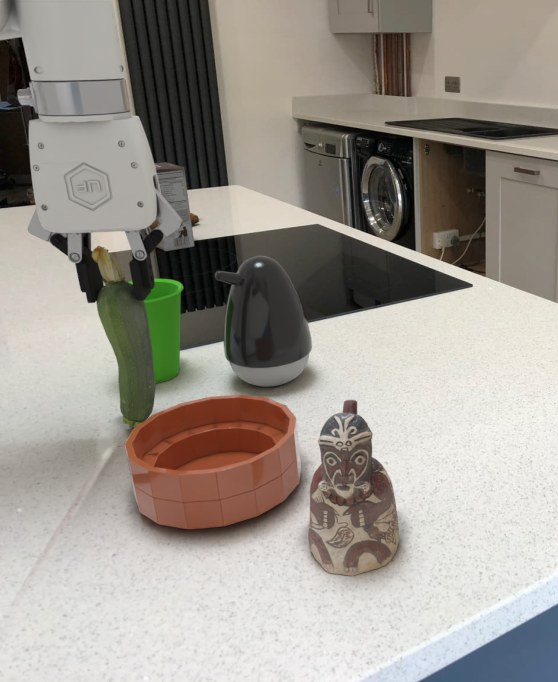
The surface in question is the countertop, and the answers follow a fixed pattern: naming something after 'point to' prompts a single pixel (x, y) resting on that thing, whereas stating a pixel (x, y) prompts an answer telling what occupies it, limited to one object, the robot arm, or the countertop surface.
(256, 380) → the pump dispenser
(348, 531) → the figurine
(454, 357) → the countertop surface
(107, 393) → the countertop surface
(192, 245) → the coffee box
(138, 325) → the vegetable
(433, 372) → the countertop surface
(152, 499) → the bowl
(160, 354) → the cup
